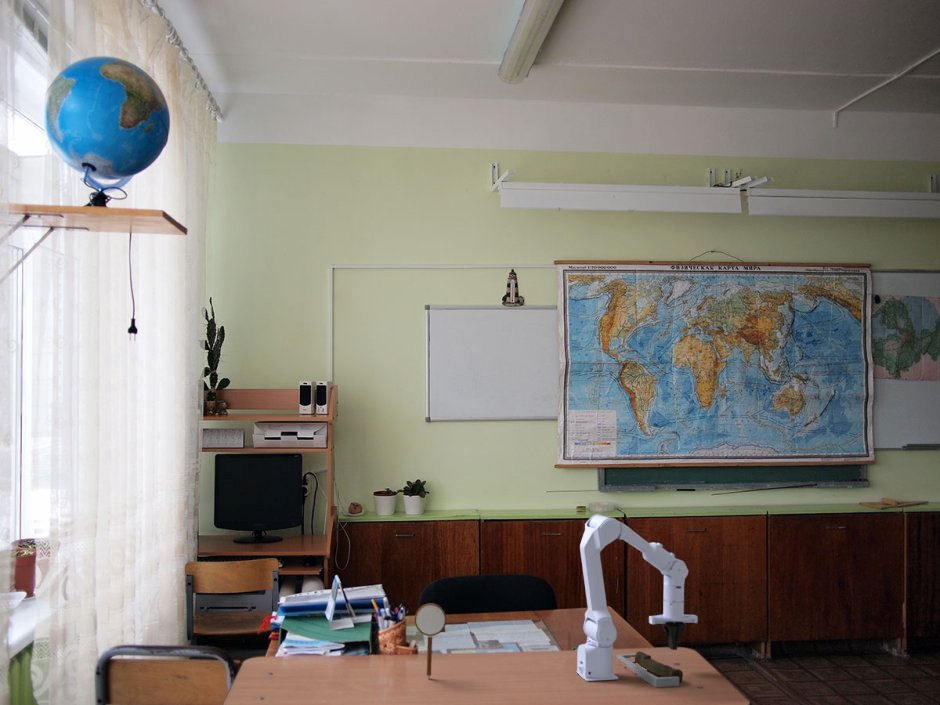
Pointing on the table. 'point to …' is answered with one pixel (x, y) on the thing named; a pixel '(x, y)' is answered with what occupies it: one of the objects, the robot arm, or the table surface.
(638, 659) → the brown rough log
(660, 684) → the box
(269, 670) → the table surface
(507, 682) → the table surface
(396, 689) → the table surface
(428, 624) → the magnifying glass
